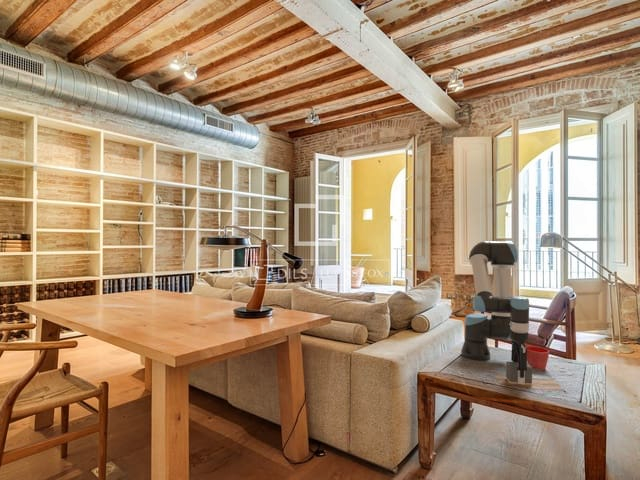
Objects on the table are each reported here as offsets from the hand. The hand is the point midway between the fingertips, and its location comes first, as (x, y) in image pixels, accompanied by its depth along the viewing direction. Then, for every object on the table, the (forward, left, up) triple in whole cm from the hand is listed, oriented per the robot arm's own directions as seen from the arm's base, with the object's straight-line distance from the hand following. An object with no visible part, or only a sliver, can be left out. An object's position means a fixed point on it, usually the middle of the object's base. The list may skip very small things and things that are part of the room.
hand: (518, 381), depth 169 cm
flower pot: (-24, +16, -2) cm, 29 cm away
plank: (0, +4, -1) cm, 4 cm away
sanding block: (0, 0, 0) cm, 0 cm away
